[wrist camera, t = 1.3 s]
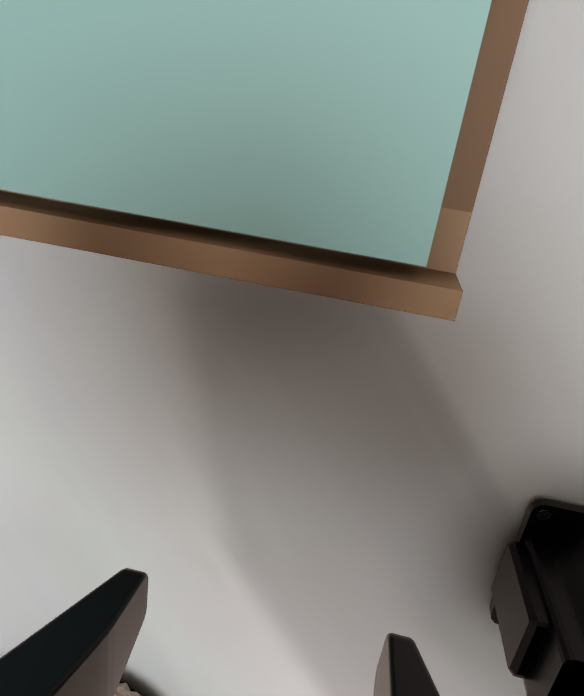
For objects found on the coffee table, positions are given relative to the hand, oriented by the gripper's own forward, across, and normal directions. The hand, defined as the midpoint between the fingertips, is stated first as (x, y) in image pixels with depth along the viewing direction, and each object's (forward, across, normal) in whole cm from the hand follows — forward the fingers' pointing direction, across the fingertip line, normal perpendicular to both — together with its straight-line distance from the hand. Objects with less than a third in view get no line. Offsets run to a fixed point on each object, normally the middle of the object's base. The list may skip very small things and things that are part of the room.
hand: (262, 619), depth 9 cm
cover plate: (+9, +6, -9) cm, 14 cm away
